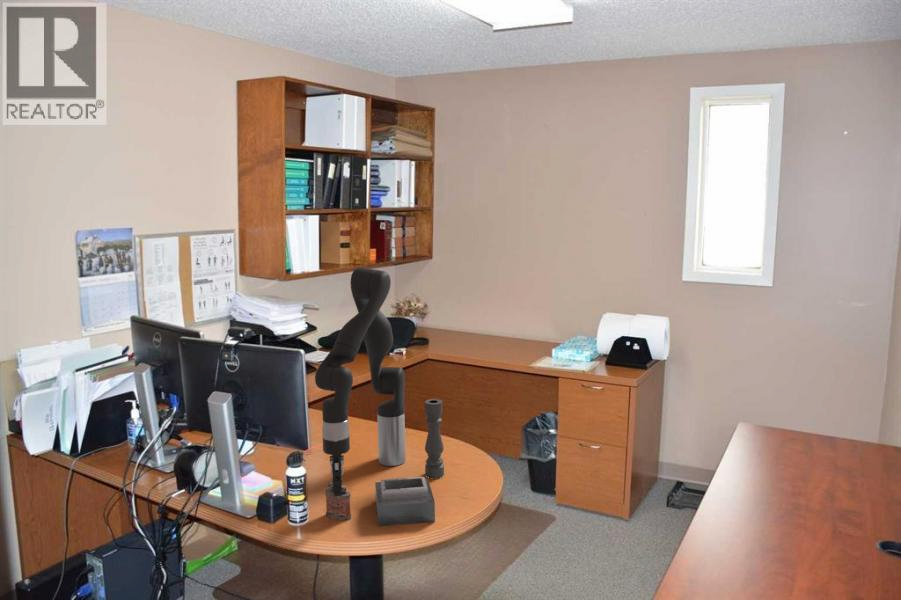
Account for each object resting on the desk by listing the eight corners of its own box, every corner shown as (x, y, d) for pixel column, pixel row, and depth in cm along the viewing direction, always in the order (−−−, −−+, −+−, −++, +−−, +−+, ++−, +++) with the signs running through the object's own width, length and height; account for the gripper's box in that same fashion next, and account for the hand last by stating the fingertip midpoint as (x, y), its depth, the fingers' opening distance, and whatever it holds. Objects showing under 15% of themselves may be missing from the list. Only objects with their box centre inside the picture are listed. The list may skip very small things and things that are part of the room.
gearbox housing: (375, 501, 214) (374, 474, 212) (428, 497, 216) (427, 470, 215) (378, 526, 198) (377, 497, 197) (434, 521, 200) (434, 493, 199)
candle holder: (441, 479, 229) (440, 405, 224) (423, 478, 230) (421, 404, 226) (445, 471, 235) (445, 399, 230) (427, 470, 236) (426, 398, 232)
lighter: (353, 516, 204) (352, 483, 202) (347, 521, 201) (346, 488, 199) (330, 511, 207) (329, 479, 206) (323, 516, 204) (322, 483, 203)
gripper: (323, 427, 206) (325, 480, 209) (321, 444, 193) (324, 500, 195) (349, 425, 208) (350, 478, 210) (349, 442, 194) (351, 498, 196)
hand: (337, 489), depth 203 cm, fingers open, 8 cm apart
